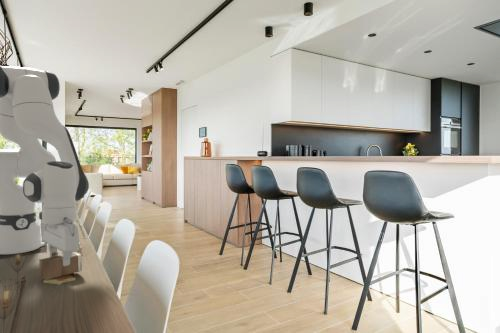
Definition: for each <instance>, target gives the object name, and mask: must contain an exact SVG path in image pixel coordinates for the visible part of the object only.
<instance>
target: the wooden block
mask: <svg viewBox="0 0 500 333" xmlns="http://www.w3.org/2000/svg"><path fill="white" fill-rule="evenodd" d="M62 259H63V254H58V256H54V257H50V256H49V257H45V258H41V259H39V262H38V264H39V277H40V278H41V279H43V281H44V280H47V279H51V278H55V277H59V276H63V275H67V274H71V273H74V274H75V273H79V272H83V262H82V260H83V259H82V254H81V253H79V252H78V251H77V252H72V255H71V258H70V265H67V266H63V265H62Z"/></svg>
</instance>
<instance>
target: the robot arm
mask: <svg viewBox="0 0 500 333" xmlns="http://www.w3.org/2000/svg"><path fill="white" fill-rule="evenodd" d="M60 90H61V85H60V80H59V78H58V76H57V75H56V74H55V73H53V72H50V71H48V70H41V69H40V70H39V69H36V68H32V67H24V66H22V67H20V66H12V65H11V66H10V65H9V66H8V65H5V66H4V65H0V135H1V136H2V138H4V139H6V140H7V141H9V142H12V143H15V144H16V145H18V146H19V148H20V149H19V148H18V149H13V148H11V149H10V148H9V149H8V148H7V149H6V148H0V255H17V254H23V253H27V252H31V251H36V250H37V249H39V248H40V247H44V246H46V244H48V245H47V247H48V250H49V251H48V252H49V257H54V256H59V252H58V250H59V251H61V252H62V254H61V255H63V259H62V265H63V266H67V265H70V258H71V255H72V253H73V252H77V253H78V251H79V249H80V233H79V231H80V230H79V227H78V225H76V224H75V223H74V222H76V221H77V207H78V206H77V202H78V201H81V200H82V198H84V197H85V195H86V194H87V193H88V191H89V189H90V184H89V180H88V178H87V175H86V173H85V172H84V170H83V168H82V165H81V161H80V159H79V156H78V153H77V151H76V147H75V145H74V142H73V139H72V136H71V134H70V132H69V130H68V128H67V127H66V126H64V124H62V123H61V122H60V120H59V118H58V117H57V114H56V112H55V110H54V102H53V100H56V99H57V98H58V97H59V94H60ZM40 140H41V141H44V142H45V143H48V144H49V145H51V146H52V147H54V148H55V150H57V153H58V156H59V159H60V161H57V158H56V157H55V156H54V153H52V152H50V151H49V150H47V149H46V148H45V147H44V146H43V145H42V144H41V142H40ZM18 178H19V179H21V178H22V179H23V178H24V180H23V184H22V185H20V184H18V183H17V182H16V179H18ZM35 203H37V204H39V203H41V204H42V203H43V204H42V211H39V213H38V219H39V220H40V225H39V224H38V223H37V222H36V221H37V215H36V213H37V212H36V211H35V210H36V209H35V206H36V204H35ZM41 239H42V240H41Z"/></svg>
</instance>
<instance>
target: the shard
mask: <svg viewBox="0 0 500 333" xmlns="http://www.w3.org/2000/svg"><path fill="white" fill-rule="evenodd" d="M73 281H76V276H75V273H71V274H67V275H63V276H59V277H55V278H51V279H47V280H44V279H43V283H44V284H50V285H51V284H53V285H60V286H61V285H62V284H65V283H69V282H73Z"/></svg>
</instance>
